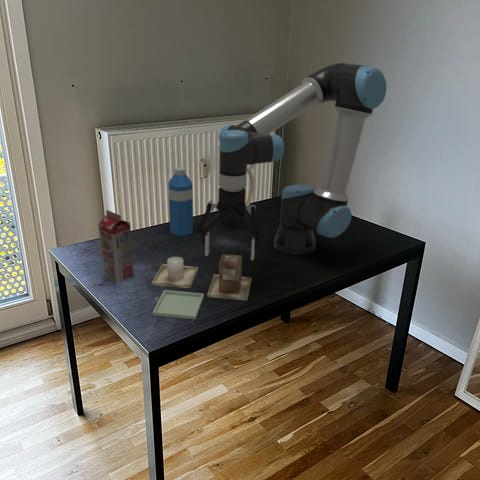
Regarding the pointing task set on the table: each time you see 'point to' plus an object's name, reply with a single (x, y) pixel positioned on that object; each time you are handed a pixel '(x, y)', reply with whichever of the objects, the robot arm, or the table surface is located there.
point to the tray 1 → (186, 282)
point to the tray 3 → (242, 294)
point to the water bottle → (180, 203)
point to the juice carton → (116, 247)
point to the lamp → (237, 223)
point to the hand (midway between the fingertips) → (229, 256)
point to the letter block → (230, 273)
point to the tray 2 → (178, 304)
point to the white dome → (175, 268)
